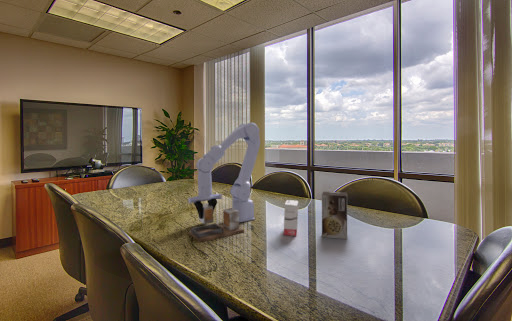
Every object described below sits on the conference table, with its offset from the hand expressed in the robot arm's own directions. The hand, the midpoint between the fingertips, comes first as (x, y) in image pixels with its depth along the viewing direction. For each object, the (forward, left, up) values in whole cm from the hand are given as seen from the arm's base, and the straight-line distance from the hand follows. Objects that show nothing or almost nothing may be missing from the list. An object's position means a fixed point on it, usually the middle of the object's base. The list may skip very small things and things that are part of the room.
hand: (205, 217), depth 116 cm
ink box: (-24, +28, -3) cm, 37 cm away
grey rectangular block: (0, 0, -2) cm, 2 cm away
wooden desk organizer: (+1, +12, -3) cm, 12 cm away
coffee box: (-35, +40, -3) cm, 53 cm away
